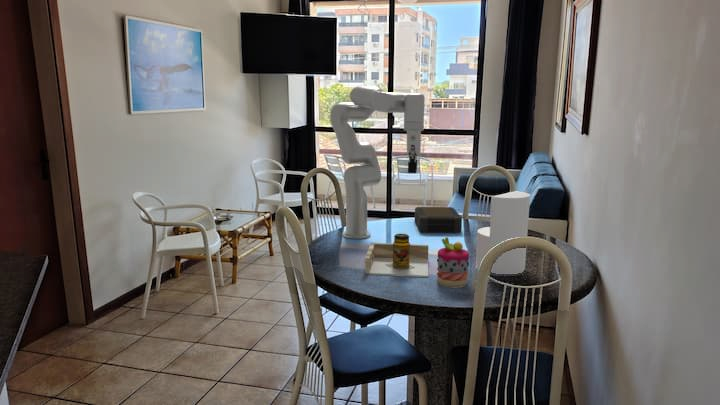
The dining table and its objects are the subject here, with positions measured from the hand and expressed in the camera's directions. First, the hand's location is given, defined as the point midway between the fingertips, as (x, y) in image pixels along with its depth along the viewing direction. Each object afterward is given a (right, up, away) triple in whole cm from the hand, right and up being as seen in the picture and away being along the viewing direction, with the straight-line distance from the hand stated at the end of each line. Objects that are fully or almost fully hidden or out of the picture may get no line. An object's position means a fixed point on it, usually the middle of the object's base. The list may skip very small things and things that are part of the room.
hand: (412, 171), depth 198 cm
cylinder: (+31, -37, -11) cm, 49 cm away
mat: (-6, -36, -10) cm, 38 cm away
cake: (+11, -39, -26) cm, 48 cm away
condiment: (-6, -36, -11) cm, 38 cm away
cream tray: (-6, -36, -10) cm, 38 cm away
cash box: (+18, -24, +52) cm, 60 cm away
